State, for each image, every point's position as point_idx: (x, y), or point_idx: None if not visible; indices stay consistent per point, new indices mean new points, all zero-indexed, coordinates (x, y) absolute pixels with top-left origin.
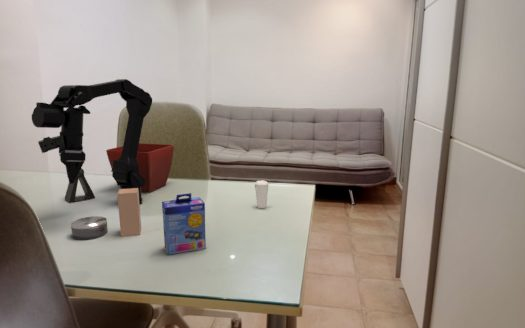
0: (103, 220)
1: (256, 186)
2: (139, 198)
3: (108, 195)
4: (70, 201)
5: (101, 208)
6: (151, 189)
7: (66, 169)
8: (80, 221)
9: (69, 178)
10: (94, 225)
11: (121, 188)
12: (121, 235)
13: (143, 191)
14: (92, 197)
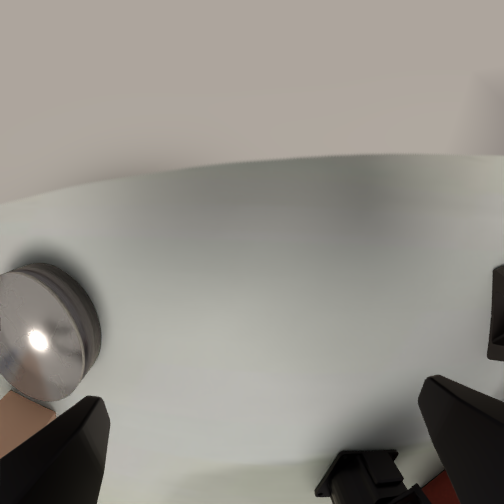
0: (26, 387)
1: None
2: (333, 501)
3: (485, 393)
4: (497, 275)
5: (361, 390)
6: None
7: (484, 416)
8: (33, 313)
9: (52, 429)
10: None
11: (377, 494)
12: (8, 392)
13: (431, 483)
14: (491, 350)
